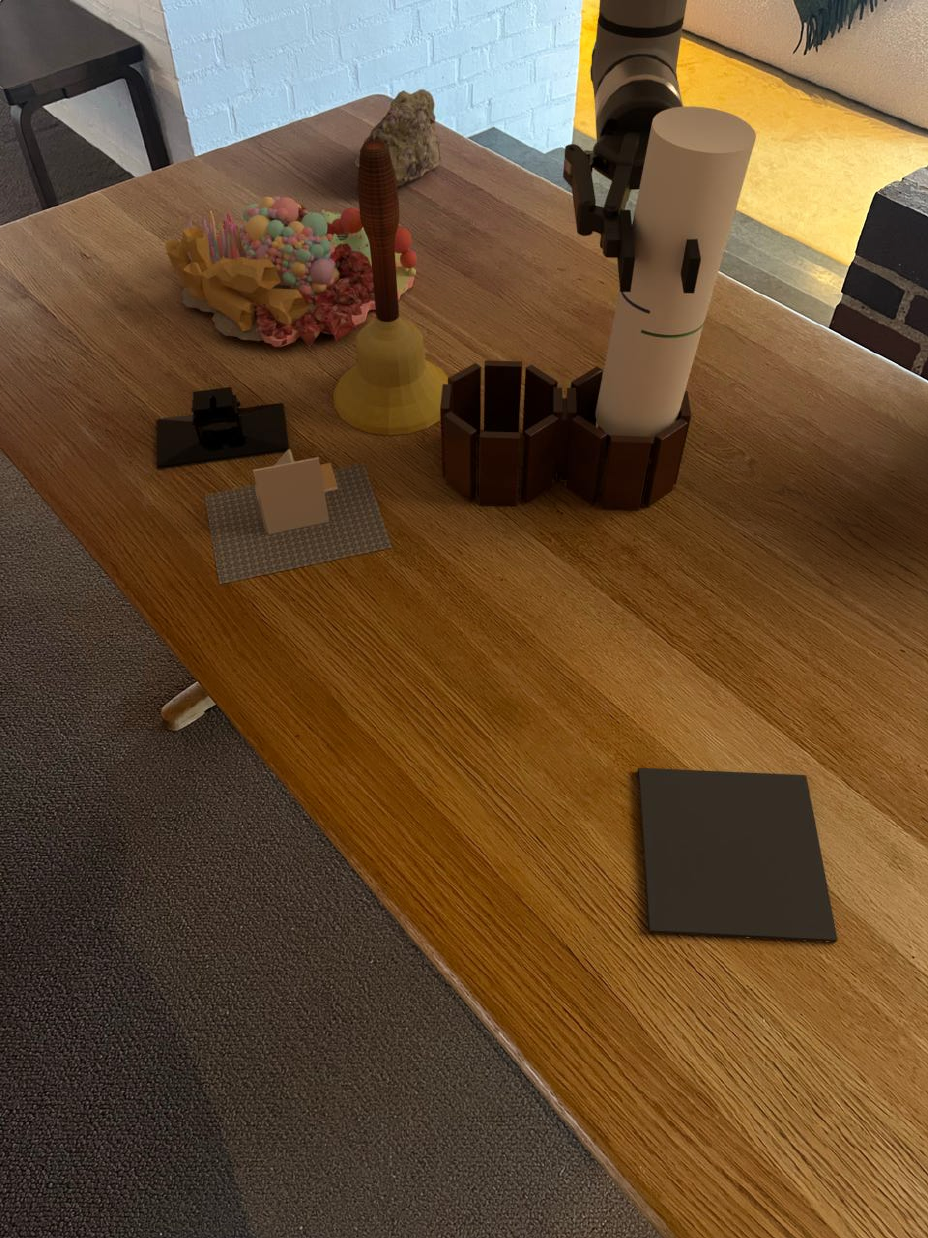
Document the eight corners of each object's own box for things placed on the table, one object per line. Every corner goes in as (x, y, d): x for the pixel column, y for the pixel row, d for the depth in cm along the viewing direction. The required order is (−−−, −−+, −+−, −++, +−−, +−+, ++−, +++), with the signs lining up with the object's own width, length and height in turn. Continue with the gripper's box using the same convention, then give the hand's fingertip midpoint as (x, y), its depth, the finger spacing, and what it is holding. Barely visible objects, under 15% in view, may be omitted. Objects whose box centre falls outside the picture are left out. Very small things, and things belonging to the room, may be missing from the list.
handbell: (456, 358, 100) (453, 110, 81) (452, 436, 93) (448, 183, 73) (339, 356, 101) (307, 109, 81) (325, 434, 93) (287, 182, 73)
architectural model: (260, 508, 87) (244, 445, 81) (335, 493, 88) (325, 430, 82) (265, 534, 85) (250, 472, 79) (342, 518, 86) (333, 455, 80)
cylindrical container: (626, 383, 88) (689, 97, 69) (690, 418, 86) (775, 130, 66) (579, 417, 85) (631, 126, 65) (645, 456, 82) (720, 163, 63)
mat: (804, 778, 69) (806, 774, 69) (835, 943, 62) (838, 940, 61) (637, 770, 70) (638, 767, 69) (648, 933, 62) (649, 930, 62)
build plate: (157, 470, 90) (143, 431, 86) (157, 420, 95) (144, 382, 91) (289, 451, 91) (281, 412, 88) (283, 403, 96) (275, 364, 92)
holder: (669, 434, 93) (684, 365, 86) (679, 512, 86) (695, 443, 80) (447, 427, 93) (445, 358, 87) (439, 503, 87) (437, 435, 81)
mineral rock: (364, 204, 120) (356, 121, 112) (337, 166, 126) (328, 85, 119) (459, 183, 123) (458, 102, 115) (428, 147, 129) (425, 67, 122)
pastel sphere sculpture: (312, 377, 98) (299, 297, 91) (143, 309, 106) (119, 230, 99) (442, 263, 112) (440, 185, 104) (283, 209, 119) (271, 134, 112)
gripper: (730, 169, 85) (767, 324, 70) (539, 166, 86) (537, 318, 71) (748, 79, 79) (794, 227, 65) (544, 76, 80) (543, 222, 65)
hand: (659, 275), depth 68 cm, fingers open, 4 cm apart
